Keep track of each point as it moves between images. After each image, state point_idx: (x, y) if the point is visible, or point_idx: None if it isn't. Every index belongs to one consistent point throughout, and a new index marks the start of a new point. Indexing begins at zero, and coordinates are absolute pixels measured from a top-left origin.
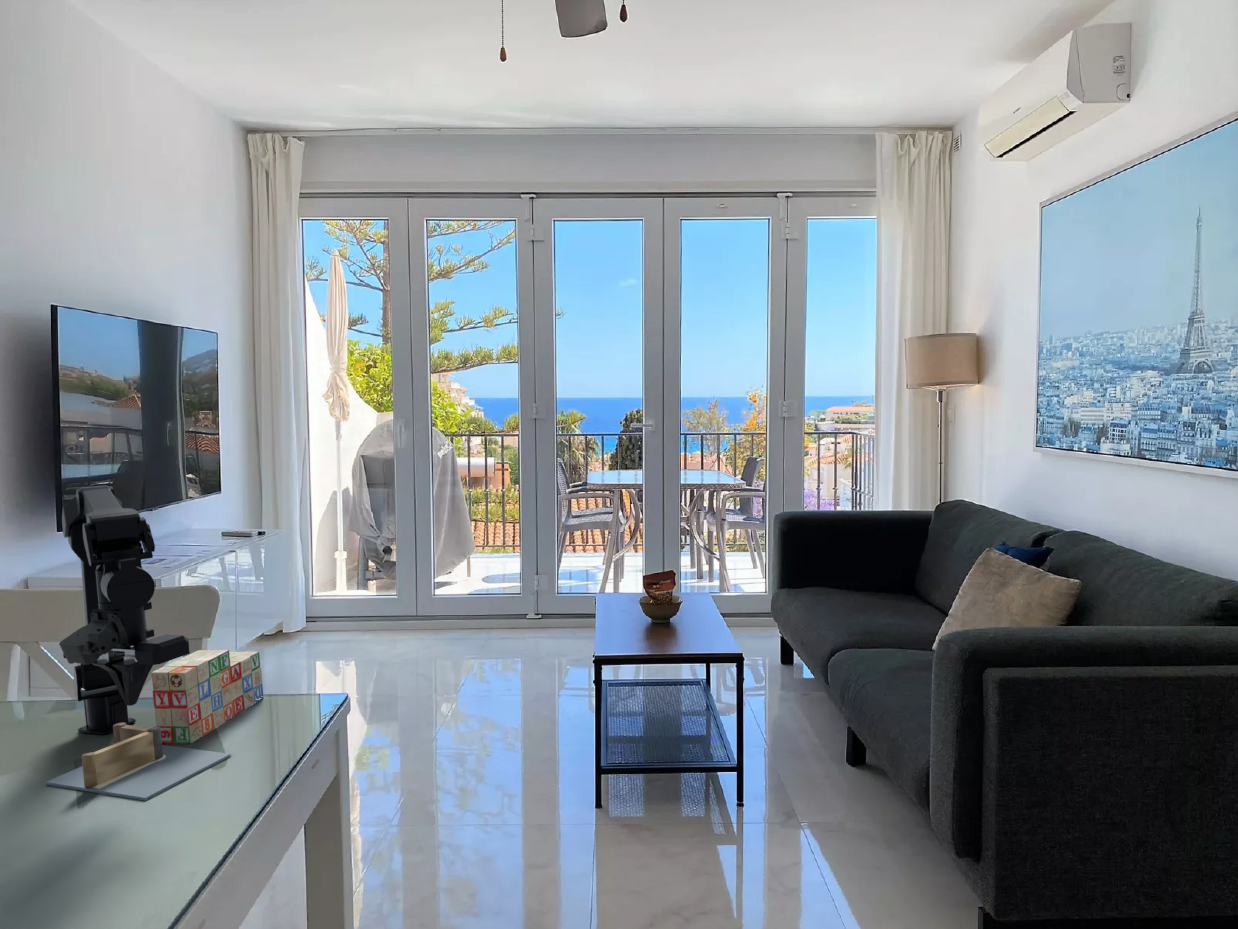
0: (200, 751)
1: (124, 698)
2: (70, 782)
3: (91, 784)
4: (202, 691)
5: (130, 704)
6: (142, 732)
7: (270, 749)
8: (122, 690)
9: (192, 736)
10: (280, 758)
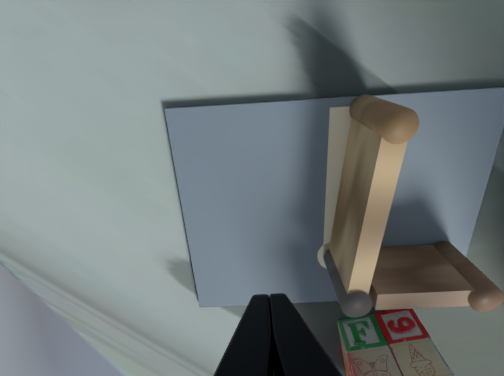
0: None
1: (286, 321)
2: (440, 107)
3: (353, 102)
4: None
5: (250, 299)
6: (386, 290)
7: (157, 339)
8: (288, 373)
9: (340, 334)
10: (101, 320)
